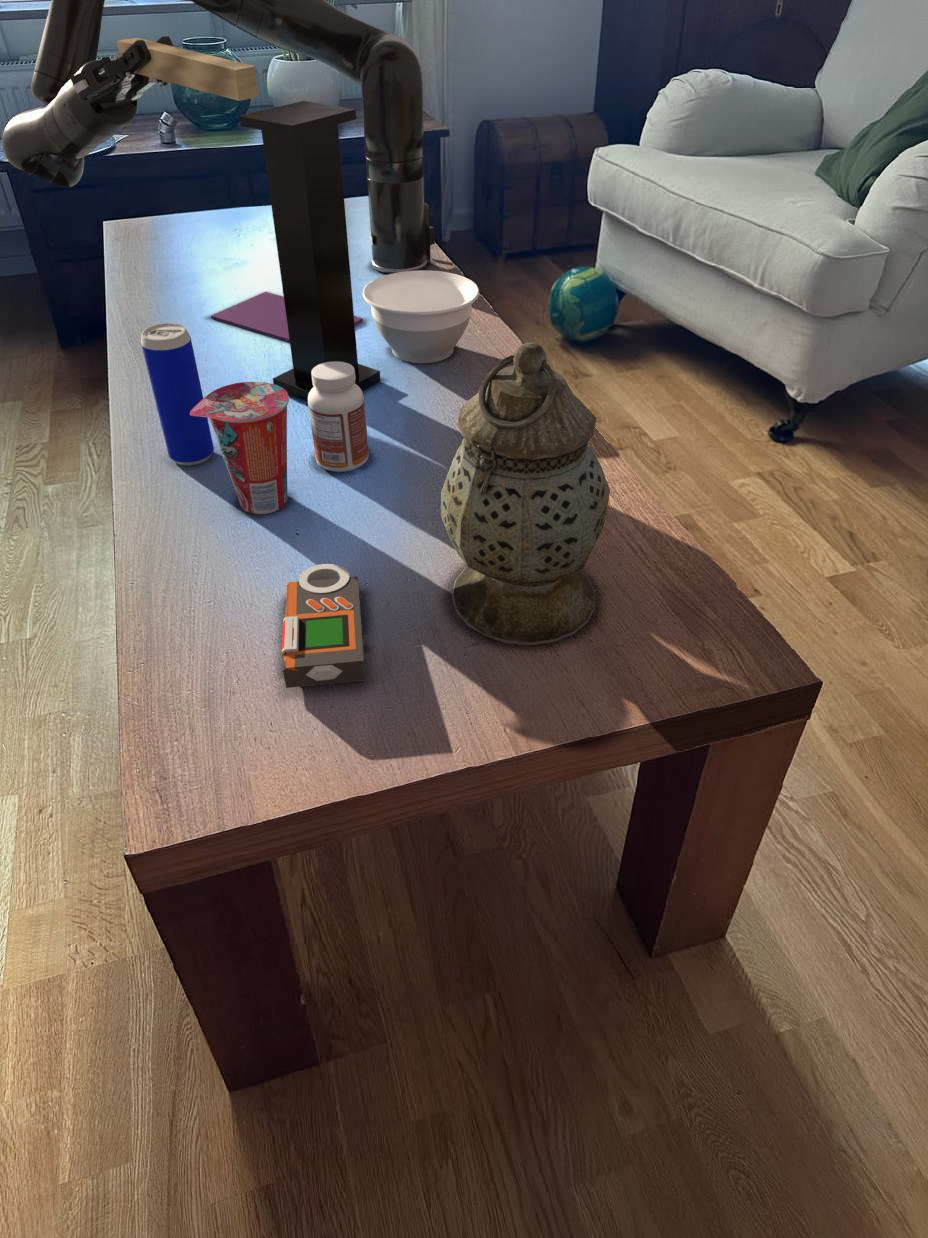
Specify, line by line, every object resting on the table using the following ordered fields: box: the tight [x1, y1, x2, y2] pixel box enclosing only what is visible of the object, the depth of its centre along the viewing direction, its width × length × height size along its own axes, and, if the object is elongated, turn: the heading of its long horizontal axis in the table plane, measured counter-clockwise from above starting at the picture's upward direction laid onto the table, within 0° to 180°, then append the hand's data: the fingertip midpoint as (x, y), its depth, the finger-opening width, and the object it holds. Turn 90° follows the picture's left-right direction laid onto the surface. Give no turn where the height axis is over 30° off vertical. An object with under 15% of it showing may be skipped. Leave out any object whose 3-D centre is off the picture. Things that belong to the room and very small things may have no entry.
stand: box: [238, 100, 381, 402], centre depth 107 cm, size 10×10×32 cm
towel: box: [210, 291, 364, 343], centre depth 134 cm, size 12×20×1 cm, turn 56°
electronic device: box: [281, 563, 367, 689], centre depth 78 cm, size 7×3×15 cm
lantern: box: [440, 341, 611, 646], centre depth 75 cm, size 14×14×25 cm
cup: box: [190, 381, 290, 515], centre depth 92 cm, size 9×8×12 cm
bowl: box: [362, 269, 480, 364], centre depth 123 cm, size 16×16×9 cm
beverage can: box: [140, 322, 215, 466], centre depth 98 cm, size 5×5×15 cm
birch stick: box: [116, 37, 259, 102], centre depth 102 cm, size 20×3×3 cm, turn 54°
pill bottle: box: [307, 361, 370, 473], centre depth 99 cm, size 6×6×11 cm
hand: (158, 46), depth 103 cm, fingers closed on birch stick, 3 cm apart
